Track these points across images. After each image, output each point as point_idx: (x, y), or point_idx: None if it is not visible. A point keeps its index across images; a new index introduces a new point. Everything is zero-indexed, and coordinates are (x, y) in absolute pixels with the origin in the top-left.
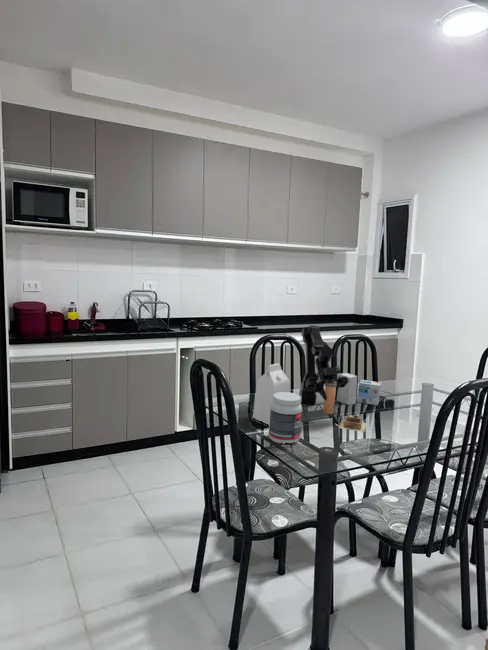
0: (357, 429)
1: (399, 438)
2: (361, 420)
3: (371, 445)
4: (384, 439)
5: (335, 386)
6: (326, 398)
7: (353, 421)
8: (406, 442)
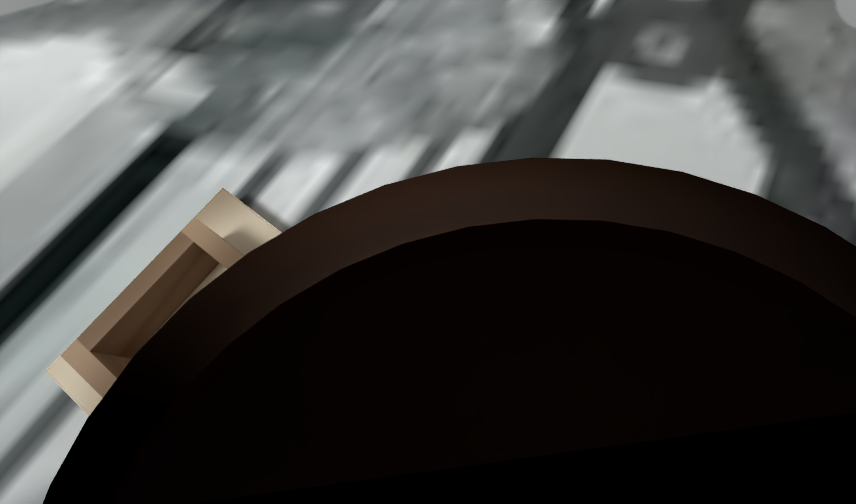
0: (248, 248)
1: (27, 110)
2: (112, 308)
3: (313, 53)
4: (146, 115)
5: (374, 218)
6: (617, 464)
7: None
8: (43, 52)
